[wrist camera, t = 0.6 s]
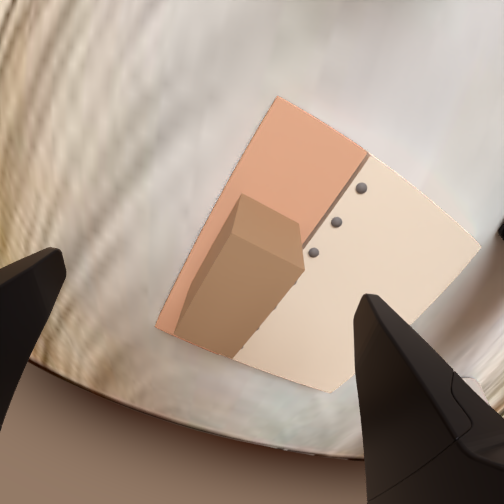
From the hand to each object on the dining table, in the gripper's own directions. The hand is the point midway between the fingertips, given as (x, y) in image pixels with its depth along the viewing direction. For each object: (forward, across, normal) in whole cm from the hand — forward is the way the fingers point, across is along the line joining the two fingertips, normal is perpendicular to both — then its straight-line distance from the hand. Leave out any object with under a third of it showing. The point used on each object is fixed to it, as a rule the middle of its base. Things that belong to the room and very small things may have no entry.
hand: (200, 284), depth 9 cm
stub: (+13, 0, +6) cm, 14 cm away
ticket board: (+13, -9, +10) cm, 18 cm away
